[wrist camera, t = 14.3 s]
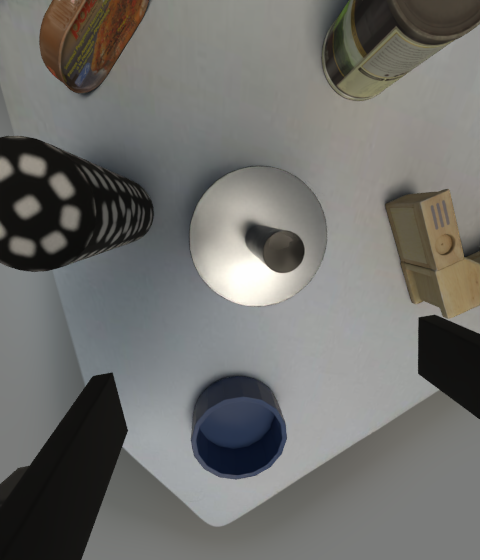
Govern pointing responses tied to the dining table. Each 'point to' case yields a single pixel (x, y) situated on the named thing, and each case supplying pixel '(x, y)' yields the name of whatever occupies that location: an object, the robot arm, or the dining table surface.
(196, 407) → the pan
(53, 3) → the tin
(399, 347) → the dining table surface
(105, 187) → the white-spotted black cylinder
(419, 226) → the toy kitchen set
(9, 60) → the dining table surface
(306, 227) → the lid
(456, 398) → the robot arm
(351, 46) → the coffee can
